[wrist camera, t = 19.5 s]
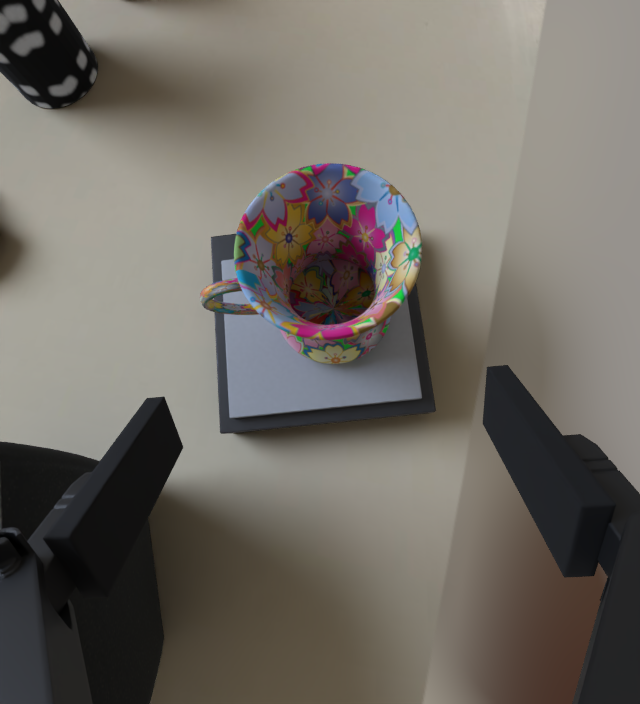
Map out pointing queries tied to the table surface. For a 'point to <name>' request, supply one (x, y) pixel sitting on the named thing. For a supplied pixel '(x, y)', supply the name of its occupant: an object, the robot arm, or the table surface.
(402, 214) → the mug
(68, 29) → the spotted tube
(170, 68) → the table surface
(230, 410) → the scale
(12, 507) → the flower pot
